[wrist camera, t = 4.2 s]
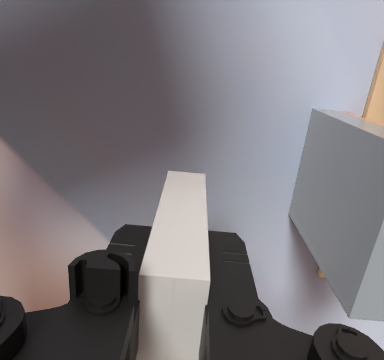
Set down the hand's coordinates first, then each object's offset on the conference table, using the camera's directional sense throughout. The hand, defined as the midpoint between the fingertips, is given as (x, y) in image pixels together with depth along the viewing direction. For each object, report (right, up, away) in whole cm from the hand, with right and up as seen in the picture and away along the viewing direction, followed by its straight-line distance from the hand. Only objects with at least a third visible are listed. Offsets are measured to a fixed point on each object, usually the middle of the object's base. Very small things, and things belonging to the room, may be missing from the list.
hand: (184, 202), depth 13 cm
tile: (+8, +2, +7) cm, 11 cm away
